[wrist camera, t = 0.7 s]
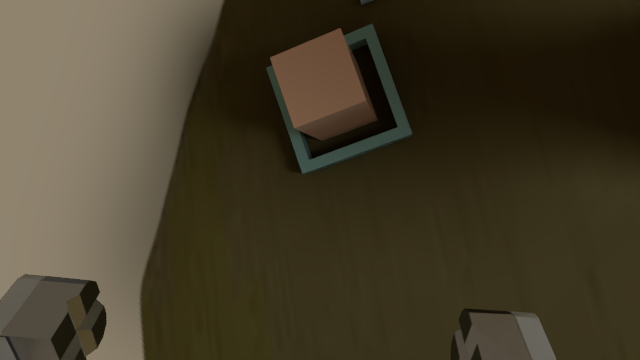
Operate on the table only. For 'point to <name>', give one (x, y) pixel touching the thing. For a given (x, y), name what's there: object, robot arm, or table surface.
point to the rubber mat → (365, 1)
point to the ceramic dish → (401, 132)
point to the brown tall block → (323, 87)
